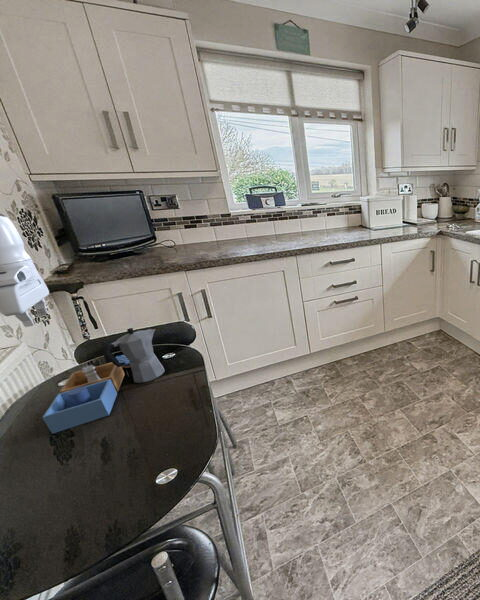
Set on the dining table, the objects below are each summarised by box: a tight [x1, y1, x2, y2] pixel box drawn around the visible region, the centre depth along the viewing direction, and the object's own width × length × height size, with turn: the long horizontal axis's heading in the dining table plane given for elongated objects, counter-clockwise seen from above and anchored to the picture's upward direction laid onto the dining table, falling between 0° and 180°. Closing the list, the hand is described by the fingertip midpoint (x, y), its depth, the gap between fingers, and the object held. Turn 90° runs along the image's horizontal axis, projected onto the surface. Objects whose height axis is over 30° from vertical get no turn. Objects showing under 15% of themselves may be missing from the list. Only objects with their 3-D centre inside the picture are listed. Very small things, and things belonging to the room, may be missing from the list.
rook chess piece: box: [81, 364, 101, 383], centre depth 105 cm, size 4×4×8 cm
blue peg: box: [67, 386, 93, 407], centre depth 94 cm, size 4×4×7 cm
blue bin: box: [42, 379, 118, 435], centre depth 95 cm, size 12×12×6 cm
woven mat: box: [114, 354, 131, 369], centre depth 122 cm, size 10×11×2 cm
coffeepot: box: [102, 327, 166, 384], centre depth 108 cm, size 15×9×18 cm, turn 153°
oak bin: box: [59, 361, 126, 394], centre depth 106 cm, size 12×12×6 cm
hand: (37, 319), depth 92 cm, fingers open, 8 cm apart
